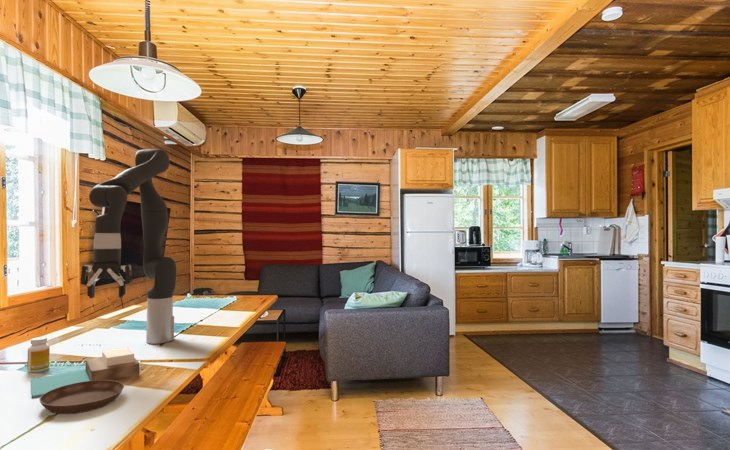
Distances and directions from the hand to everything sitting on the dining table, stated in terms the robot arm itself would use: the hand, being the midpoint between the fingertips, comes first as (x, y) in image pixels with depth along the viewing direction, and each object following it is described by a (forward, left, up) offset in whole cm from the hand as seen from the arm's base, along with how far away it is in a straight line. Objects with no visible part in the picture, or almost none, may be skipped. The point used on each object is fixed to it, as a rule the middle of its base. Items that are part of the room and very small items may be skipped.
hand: (106, 297), depth 135 cm
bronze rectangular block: (0, +11, -22) cm, 24 cm away
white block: (-2, +11, -18) cm, 21 cm away
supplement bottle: (+17, -8, -22) cm, 29 cm away
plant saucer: (+9, +30, -22) cm, 38 cm away
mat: (+12, +11, -22) cm, 27 cm away
